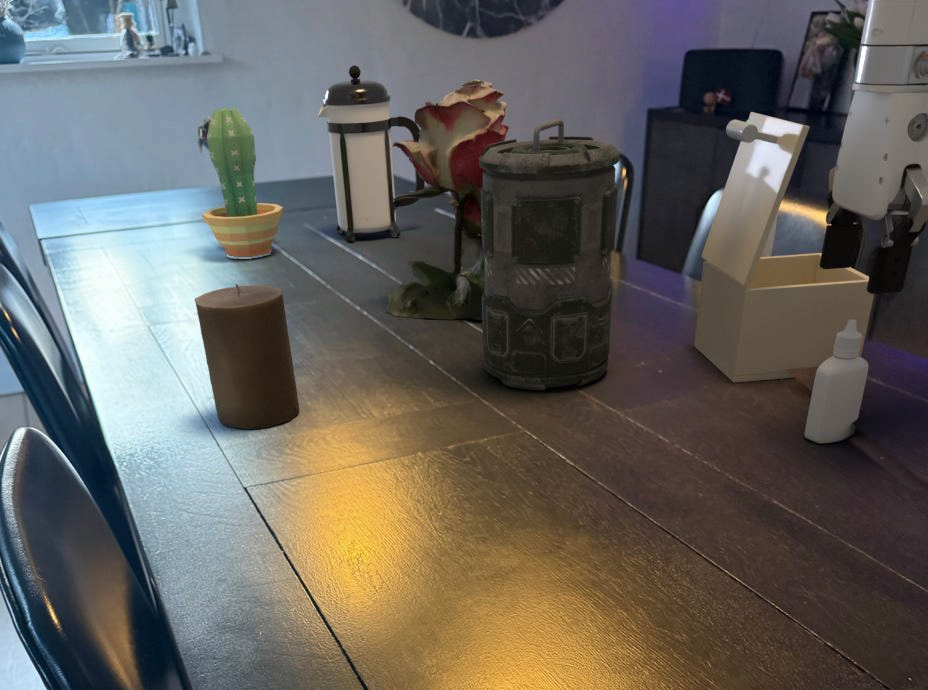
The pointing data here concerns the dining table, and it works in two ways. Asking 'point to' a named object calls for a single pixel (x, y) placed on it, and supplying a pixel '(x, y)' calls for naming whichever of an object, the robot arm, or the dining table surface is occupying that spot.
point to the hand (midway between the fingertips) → (858, 279)
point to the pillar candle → (248, 355)
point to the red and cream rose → (456, 171)
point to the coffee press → (364, 156)
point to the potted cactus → (237, 187)
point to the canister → (548, 258)
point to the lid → (753, 193)
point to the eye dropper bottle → (838, 390)
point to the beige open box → (778, 316)
